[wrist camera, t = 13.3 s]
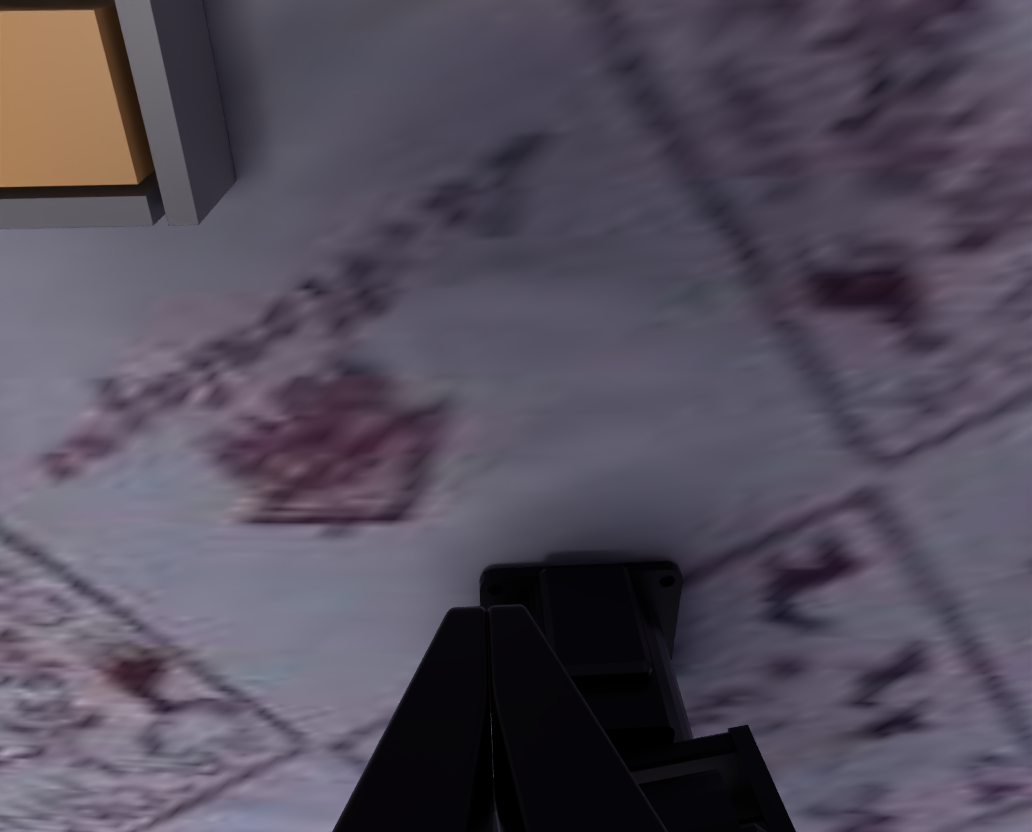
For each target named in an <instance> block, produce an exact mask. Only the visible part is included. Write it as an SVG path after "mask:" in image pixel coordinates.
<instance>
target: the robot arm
mask: <svg viewBox="0 0 1032 832" xmlns="http://www.w3.org/2000/svg"><path fill="white" fill-rule="evenodd" d="M667 575H669V577H668V578H665V579H662V577H664V576H667ZM494 583H497V584H500V585H499V586H491V584H494ZM681 588H682V575H681V572H680V569H679V567H678V566H677V564H675V563H673V562H669V561H658V562H636V563H613V564H591V565H568V566H546V567H523V568H501V569H491V570H488V571H486V572H484V573H483V574H482V575H481V577H480V606H474V607H454V608H451V609H450V610H449V611H448V612H447V613H446V615H445V617H444V619H443V621H442V623H441V624H440V626H439V628H438V630H437V632H436V634H435V636H434V638H433V640H432V642H431V644H430V646H429V647H428V649H427V651H426V653H425V655H424V657H423V659H422V661H421V663H420V665H419V667H418V669H417V670H416V672H415V674H414V676H413V678H412V680H411V682H410V684H409V686H408V688H407V690H406V691H405V693H404V695H403V697H402V699H401V701H400V703H399V705H398V707H397V709H396V711H395V713H394V714H393V716H392V718H391V720H390V722H389V724H388V726H387V728H386V730H385V732H384V734H383V736H382V737H381V739H380V741H379V743H378V745H377V747H376V749H375V751H374V753H373V755H372V757H371V759H370V760H369V762H368V764H367V766H366V768H365V770H364V772H363V774H362V776H361V778H360V780H359V781H358V783H357V785H356V787H355V789H354V791H353V793H352V795H351V797H350V799H349V801H348V803H347V804H346V806H345V808H344V810H343V812H342V814H341V816H340V818H339V820H338V822H337V824H336V826H335V827H334V829H333V831H332V832H796V831H795V829H794V827H793V824H792V822H791V820H790V818H789V816H788V813H787V811H786V809H785V807H784V804H783V802H782V800H781V798H780V796H779V793H778V791H777V789H776V787H775V784H774V782H773V780H772V778H771V775H770V773H769V771H768V769H767V767H766V764H765V762H764V760H763V758H762V755H761V753H760V751H759V749H758V747H757V744H756V742H755V740H754V738H753V735H752V733H751V731H750V729H749V726H748V725H744V726H738V727H733V728H728V732H726V733H721V734H715V735H710V736H705V737H700V738H695V739H693V736H692V732H691V729H690V725H689V722H688V718H687V714H686V711H685V707H684V704H683V700H682V697H681V693H680V690H679V686H678V683H677V679H676V676H675V672H674V669H673V665H672V662H671V659H672V652H673V645H674V638H675V630H676V623H677V616H678V609H679V602H680V595H681ZM491 723H492V735H491ZM492 749H493V761H492ZM493 774H494V777H493Z"/></svg>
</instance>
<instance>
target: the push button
mask: <svg viewBox="0 0 1032 832" xmlns="http://www.w3.org/2000/svg"><path fill="white" fill-rule="evenodd" d="M153 171H155V167H154V163H153V159H152V155H151V150H150V146H149V142H148V138H147V134H146V130H145V125H144V121H143V117H142V113H141V109H140V104H139V100H138V96H137V92H136V88H135V84H134V79H133V75H132V71H131V67H130V63H129V58H128V54H127V50H126V46H125V42H124V38H123V33H122V29H121V25H120V21H119V17H118V12H117V8H116V4H115V0H0V187H26V186H74V185H122V184H139V183H140V182H141V181H142V180H144V179H145V178H146V177H147V176H148V175H150V174H151V173H152V172H153Z"/></svg>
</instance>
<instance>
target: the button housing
mask: <svg viewBox="0 0 1032 832" xmlns="http://www.w3.org/2000/svg"><path fill="white" fill-rule="evenodd" d="M115 4H116V8H117V12H118V17H119V21H120V25H121V29H122V33H123V38H124V42H125V46H126V50H127V54H128V58H129V63H130V67H131V71H132V75H133V79H134V84H135V88H136V92H137V96H138V100H139V104H140V109H141V113H142V117H143V121H144V125H145V130H146V134H147V138H148V142H149V146H150V150H151V155H152V159H153V163H154V167H155V171H153V172H152V173H151V174H150V175H148V176H147V177H146V178H145V179H144V180H142V181H141V182H140V183H139V184H122V185H74V186H26V187H0V229H36V228H79V227H122V226H153V225H154V224H155V223H156V222H157V221H158V220H159V219H160V218H161V217H162V216H164V215H165V214H166V217H167V222H168V225H199V224H200V223H201V221H202V220H203V219H204V218H205V217H206V216H207V214H208V213H209V212H210V211H211V210H212V209H213V207H214V206H215V205H216V204H217V203H218V202H219V200H220V199H221V198H222V197H223V196H224V195H225V193H226V192H227V191H228V190H229V189H230V188H231V186H232V185H233V184H234V183H235V182H236V176H235V171H234V166H233V160H232V155H231V150H230V144H229V139H228V134H227V128H226V123H225V118H224V112H223V107H222V102H221V96H220V91H219V86H218V80H217V75H216V70H215V64H214V59H213V54H212V48H211V43H210V38H209V32H208V27H207V22H206V16H205V11H204V6H203V0H115Z"/></svg>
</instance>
